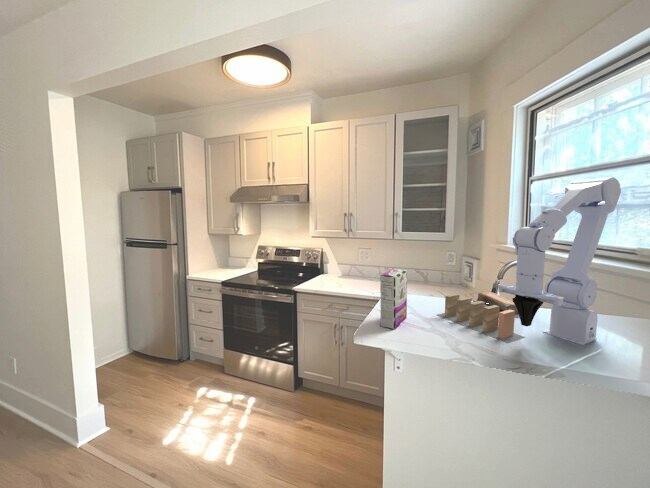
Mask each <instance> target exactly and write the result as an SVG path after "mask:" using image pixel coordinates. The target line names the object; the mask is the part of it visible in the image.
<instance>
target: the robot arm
mask: <svg viewBox="0 0 650 488" xmlns="http://www.w3.org/2000/svg"><path fill="white" fill-rule="evenodd" d="M621 194H622V189H621V184H620V181H619V180H618V179H617V178H616V177H613V176H610V177H604V178H594V179H582V180H572V181H570V182H569V183H568V185H566V186H565V190H564V195H563V196H562V197H561V199H560V200H559V201H558V202H557V203H556V204H555V206H554V207H553V208H551V207H550V208H546V209H545V208H544V209H543V210H542V211H541V213H540V214H539V215H538V216H537V217H536V218H535V219H533V220H532V221H531V222H530V223H529V224H528V225H527V226H521V227H520V228H519V229H517V230H516V231H515V233H514V235H513V237H512V243H513V245H514V246H513V247H514V248H515V249H514V250H515V251H514V252H515V255H516V256H517V258H516V259H517V260H516V272H515V273H516V274H515V275H516V276H515V285H509V284H499V285H498V286H497V287H498V293H505V294H510V295H514V297H512V301H513V302H514V304H515V306H516V308H517V310H518V313H519V316H520V318H519V320H520V325H521V326H524V327H530V326H532V323H533V320H534V318H535V316H536V314H537V312H538V310H539V309H540V308H541V306H543V304H544V303H547V304H551V309H550V310H551V311H550V321H549V322H550V323H549V328H547V329H544V330H542V332H543V334H548V335H551V336H553V337H555V338H560V339H563V340H566V341H569V342H572V343H575V344H578V345H580V346H581V345H582V346H585V345H586V344H589V343H591V342H594V341H596V340H597V331H598V330H597V327H598V313H597V312H596V311H595V310H592V309H589V307H591V306H592V305H594V303H595V301H596V299H597V287H598V283H597V281H596V280H595V278H593V277H592V276H591V275H590V274H589V271H590V268H591V265H592V262H593V260H594V256H595V254H596V250H597V249H598V246H599V242H600V240H601V237H602V233H603V231H604V228H605V225H606V222H607V219H608V217H609V214H611V213H613V212H615V210H616V207H617V205H618V203H619V199H620V196H621ZM573 211H574V212H575V213H578V214H579V215H581V218H580V222H579V225H578V228H577V231H576V232H575V233H576V234H575V236H574V238H573V241H572V244H571V247H570V250H569V253H568V256H567V259H566V262H565V264H564V267H563V268H561V269H559V270H556V271H554V272H552V274H551V276H550V278H549V279H548V280H547V282H546V283H545V286H544V275H545V262H546V261H545V260H546V251H547V250H548V249H550V248H551V246H552V244H553V241H554V239H555V237H556V234H557V233H558V232H559V231H560V230H561V229H562V228H563V227H564V226H565V225H566V224H567V221H568V219H567V218H568V217H567V216H569V215H570V214H571V213H573ZM543 286H544V291H543Z"/></svg>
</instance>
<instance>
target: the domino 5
mask: <svg viewBox="0 0 650 488" xmlns="http://www.w3.org/2000/svg"><path fill="white" fill-rule="evenodd" d="M515 320H516V319H515V311H514V310H506V311H502V312H499V322H498V337H499V338H502V339H504V338H507V337H510V336H512V335H513V334H514V333H515V332H514V331H515Z"/></svg>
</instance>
